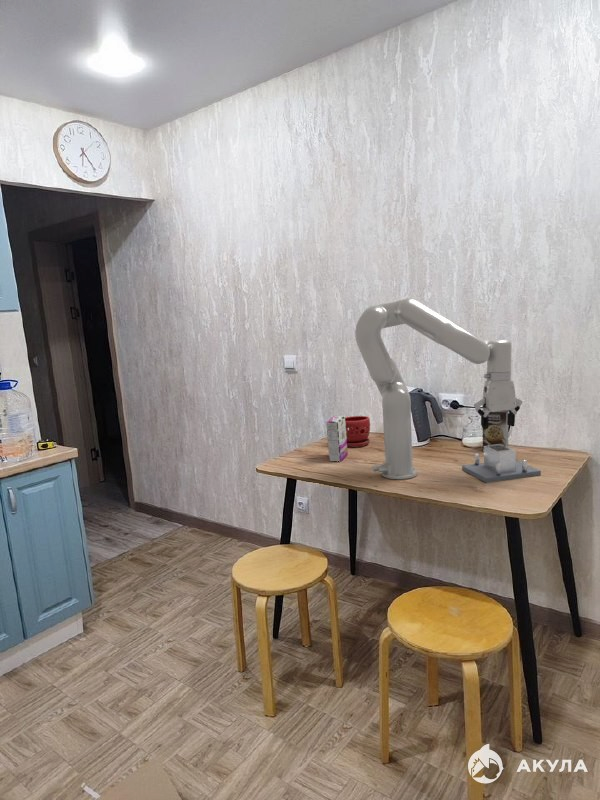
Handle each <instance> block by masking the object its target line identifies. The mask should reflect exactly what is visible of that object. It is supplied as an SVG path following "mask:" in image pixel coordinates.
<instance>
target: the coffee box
mask: <svg viewBox="0 0 600 800" xmlns="http://www.w3.org/2000/svg"><path fill="white" fill-rule="evenodd" d="M508 413H509V412H508V411H496V412H492V411H490V413H489V414H488V415H487V417H488V429H485V428H482V451H483V452H484V446H488V445H496V444H500V445H503V446H505V447H508V448H509V425H507V414H508Z"/></svg>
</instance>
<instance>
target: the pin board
mask: <svg viewBox="0 0 600 800" xmlns="http://www.w3.org/2000/svg"><path fill="white" fill-rule="evenodd" d="M461 470H462V471H463V472H465V473H467V474H469V475H470V476H472V477H475V478H477V479H479V480H480V481H482V482H484V483H486V484H487V483H494V482H501V481H508V480H516V479H523V478H529V477H536V476H537V477H538V476H542V475H541V474H542V471H541V469H537V468H535V467H532V465H529V464H527V472H522V461H519V460H517V459H516V471H512V472H505V473H501V476H496V471H494V470H492V469H490V468H488V467H486V466H484V462H480V465H475V463H471V464H465V465H461Z"/></svg>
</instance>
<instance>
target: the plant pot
mask: <svg viewBox="0 0 600 800" xmlns="http://www.w3.org/2000/svg"><path fill="white" fill-rule="evenodd" d="M370 420H371V419H370V417H369V416H365V415H354V416H347V417H346V416H345V422H346V436H347V448H349V447H350V448H351V447H352V448H358V447H359V448H360V447H364V446H367V445H368V444H369V443H370V441H371V440H370V439H369V436H370V429H371V422H370Z"/></svg>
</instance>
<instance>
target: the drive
mask: <svg viewBox="0 0 600 800" xmlns="http://www.w3.org/2000/svg"><path fill="white" fill-rule="evenodd" d="M516 460H517V450H514V449H513V448H510V447H509V446H508V447H505V446H503V445H500V444H496V445H488V446H484V451H483V463H484V466H486V467H488V468H490V469H492V470H494V471H496V463H501V473H505V472H512V471H516Z"/></svg>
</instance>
